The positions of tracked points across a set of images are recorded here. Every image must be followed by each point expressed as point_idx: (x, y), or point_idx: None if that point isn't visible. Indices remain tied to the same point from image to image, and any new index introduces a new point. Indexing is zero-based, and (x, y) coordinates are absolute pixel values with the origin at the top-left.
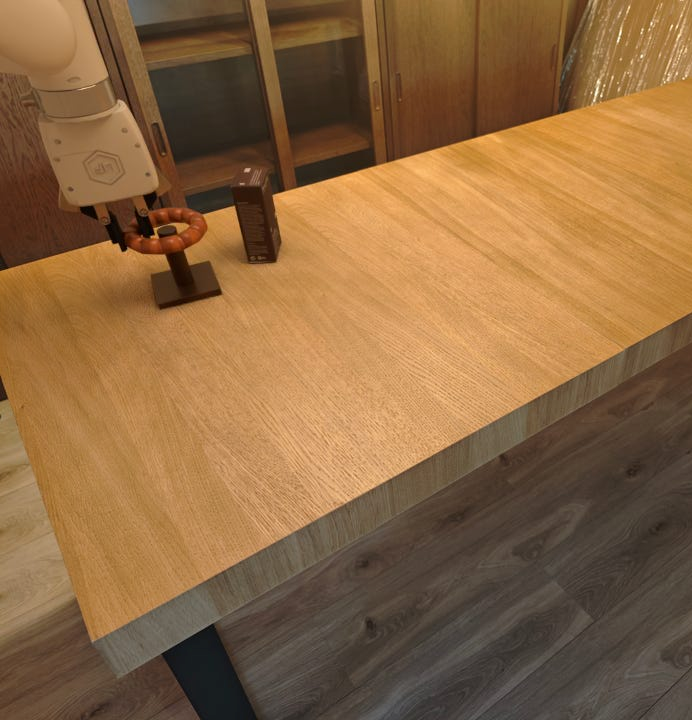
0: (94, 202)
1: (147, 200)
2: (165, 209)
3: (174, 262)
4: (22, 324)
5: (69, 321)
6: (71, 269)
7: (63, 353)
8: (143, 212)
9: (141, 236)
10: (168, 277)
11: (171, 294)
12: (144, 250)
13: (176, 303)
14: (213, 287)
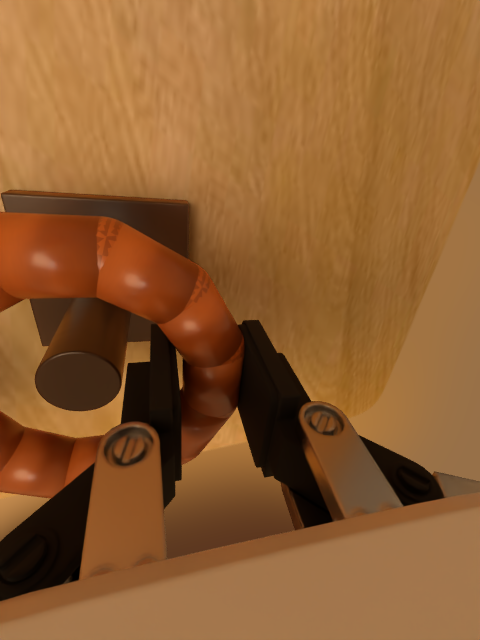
0: (465, 520)
1: (75, 527)
2: None
3: None
4: (409, 286)
5: (353, 257)
6: None
7: (401, 139)
8: (131, 445)
9: (180, 341)
10: None
11: (150, 233)
12: (183, 258)
13: (143, 199)
14: (24, 208)
